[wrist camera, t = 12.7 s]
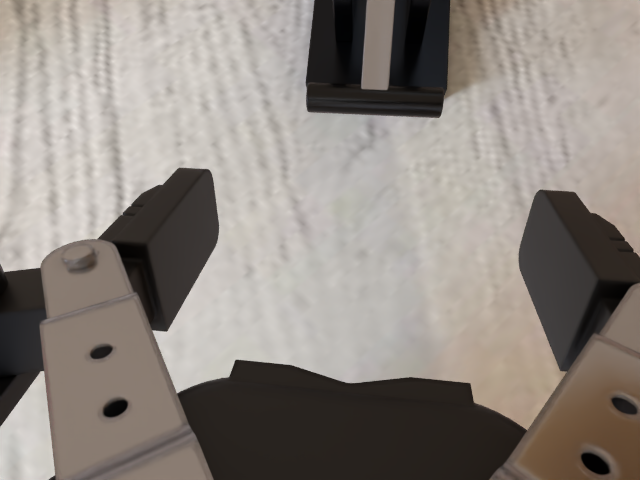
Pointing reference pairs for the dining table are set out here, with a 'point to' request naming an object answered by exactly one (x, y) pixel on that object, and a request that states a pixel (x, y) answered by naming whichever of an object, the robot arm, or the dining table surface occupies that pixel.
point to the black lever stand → (407, 43)
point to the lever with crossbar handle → (376, 78)
